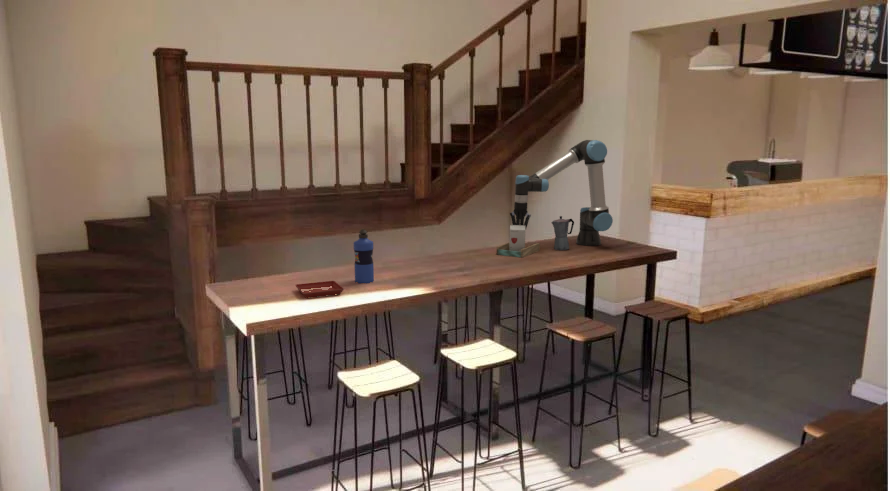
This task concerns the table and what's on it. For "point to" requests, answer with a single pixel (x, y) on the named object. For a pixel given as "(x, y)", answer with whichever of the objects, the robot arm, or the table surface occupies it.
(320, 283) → the plant saucer
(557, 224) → the moka pot
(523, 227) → the supplement box
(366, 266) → the water bottle
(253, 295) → the table surface
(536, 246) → the tray
